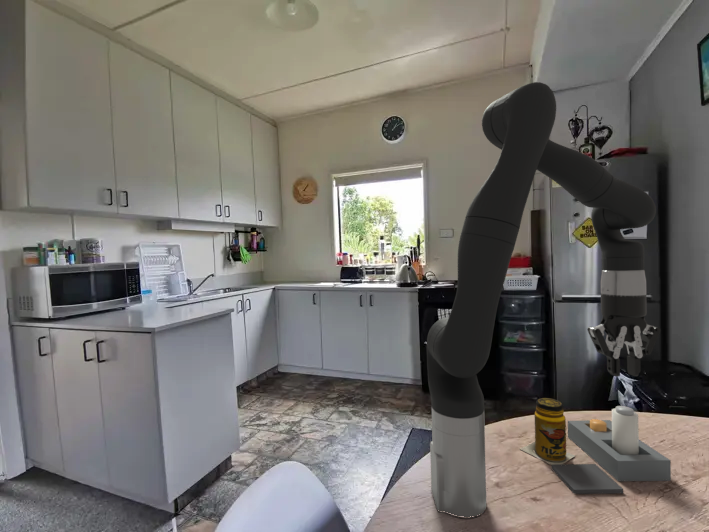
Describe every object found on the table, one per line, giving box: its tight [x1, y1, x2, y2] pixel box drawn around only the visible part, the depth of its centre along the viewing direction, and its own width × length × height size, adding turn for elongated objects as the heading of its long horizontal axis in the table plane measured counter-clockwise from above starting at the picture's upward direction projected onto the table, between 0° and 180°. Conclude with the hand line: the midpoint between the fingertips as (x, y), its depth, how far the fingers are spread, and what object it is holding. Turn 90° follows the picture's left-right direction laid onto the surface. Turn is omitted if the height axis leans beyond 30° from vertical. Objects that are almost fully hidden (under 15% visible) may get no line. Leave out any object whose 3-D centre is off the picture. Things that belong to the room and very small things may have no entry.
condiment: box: [519, 397, 576, 466], centre depth 79 cm, size 7×8×12 cm
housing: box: [567, 419, 672, 482], centre depth 77 cm, size 10×17×4 cm, turn 179°
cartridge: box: [611, 405, 640, 455], centre depth 74 cm, size 4×4×12 cm
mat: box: [550, 463, 624, 495], centre depth 70 cm, size 9×8×1 cm
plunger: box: [590, 418, 607, 432], centre depth 82 cm, size 3×3×5 cm
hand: (623, 374), depth 73 cm, fingers open, 3 cm apart
